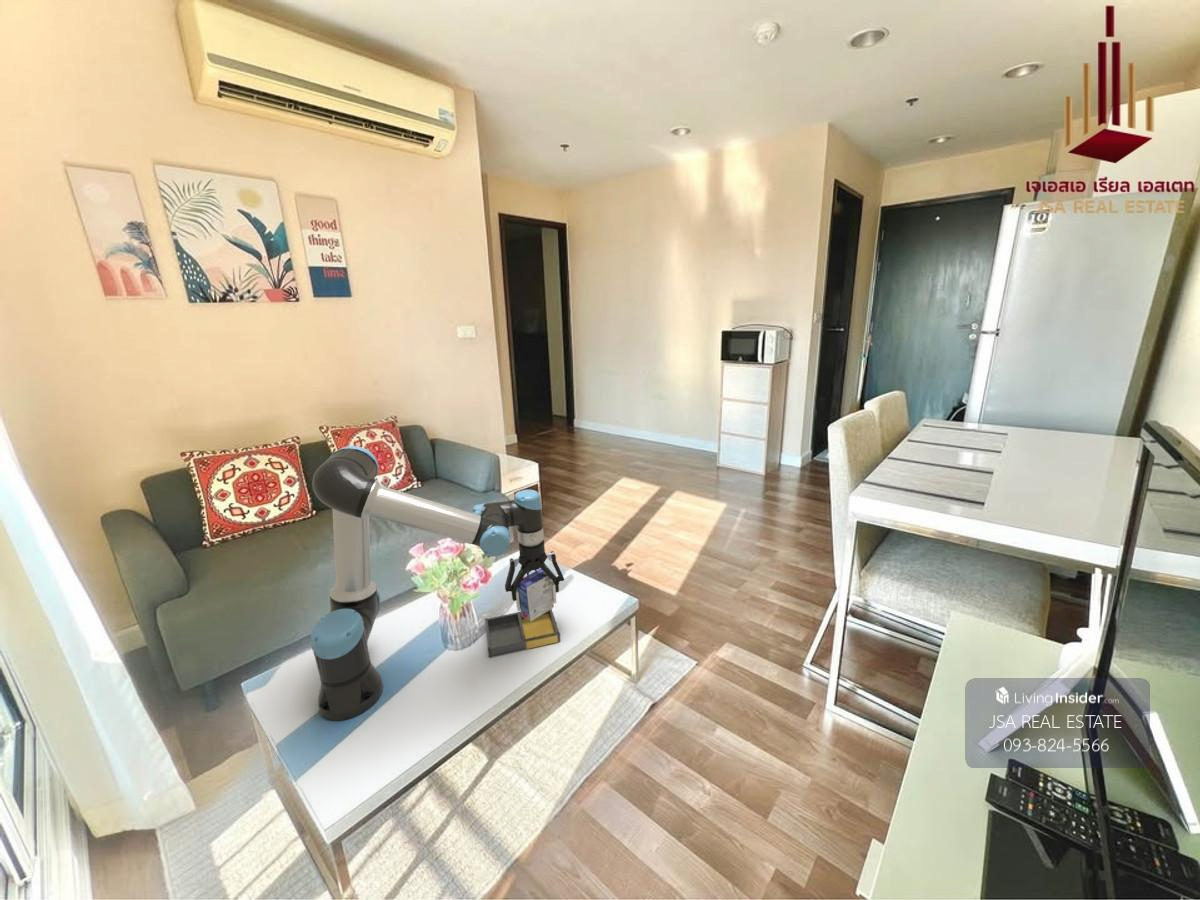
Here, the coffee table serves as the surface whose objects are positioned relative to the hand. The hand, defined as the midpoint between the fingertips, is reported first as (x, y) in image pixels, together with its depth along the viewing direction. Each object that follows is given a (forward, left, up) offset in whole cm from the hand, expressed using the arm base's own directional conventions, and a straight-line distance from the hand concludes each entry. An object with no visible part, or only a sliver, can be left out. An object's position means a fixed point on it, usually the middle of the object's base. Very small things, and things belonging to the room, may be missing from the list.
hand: (536, 604), depth 144 cm
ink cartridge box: (0, 0, -3) cm, 3 cm away
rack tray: (-5, 0, -10) cm, 11 cm away
